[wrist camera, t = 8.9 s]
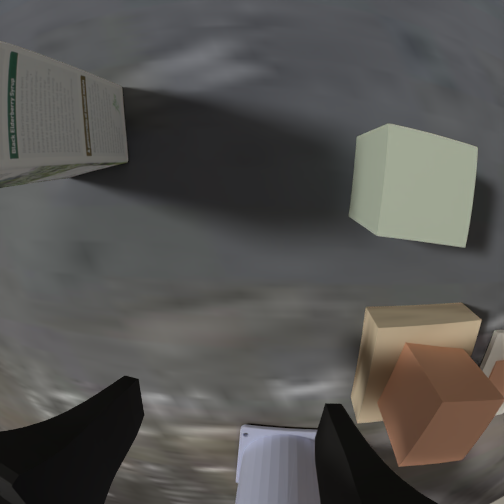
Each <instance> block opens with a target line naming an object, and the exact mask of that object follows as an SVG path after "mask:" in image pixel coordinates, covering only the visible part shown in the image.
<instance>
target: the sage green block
mask: <svg viewBox="0 0 504 504" xmlns="http://www.w3.org/2000/svg"><path fill="white" fill-rule="evenodd" d="M477 152H478V147H475V146H472V145H469V144H466V143H463V142H459V141H456V140H453V139H449V138H446V137H442V136H439V135H435V134H431V133H427V132H423V131H419V130H415V129H411V128H407V127H403V126H398V125H394V124H389V123H388V124H386V125H383V126H381V127H379V128H376V129H374V130H371V131H369V132H367V133H364V134H362V135H360V136H357V140H356V153H355V164H354V174H353V184H352V193H351V202H350V210H349V217H350V218H352V219H353V220H355V221H356V222H358V223H359V224H360V225H362V226H363V227H365V228H366V229H368V230H369V231H371V232H372V233H373V234H375V235H376V236H383V237H391V238H398V239H406V240H414V241H421V242H428V243H436V244H443V245H450V246H457V247H463V248H465V247H466V241H467V236H468V230H469V225H470V218H471V212H472V205H473V197H474V188H475V179H476V167H477Z"/></svg>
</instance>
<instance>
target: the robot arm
mask: <svg viewBox="0 0 504 504" xmlns="http://www.w3.org/2000/svg"><path fill="white" fill-rule="evenodd" d="M143 417H144V410H143V404H142V398H141V392H140V385H139V379H137V378H133V377H128V376H124V377H122V378H120V379H119V380H117V381H116V382H114V383H113V384H111V385H110V386H108V387H107V388H105V389H104V390H102V391H101V392H99V393H98V394H96V395H95V396H93V397H91V398H90V399H88V400H87V401H85V402H83V403H81V404H79V405H78V406H76V407H74V408H72V409H70V410H69V411H67V412H64V413H62V414H60V415H58V416H56V417H53V418H51V419H48V420H46V421H43V422H40V423H37V424H33V425H30V426H27V427H23V428H18V429H14V430H8V431H1V432H0V504H104V502H105V499H106V497H107V494H108V491H109V489H110V486H111V483H112V481H113V479H114V477H115V475H116V472H117V471H118V469H119V467H120V465H121V463H122V462H123V460H124V458H125V456H126V454H127V452H128V451H129V449H130V447H131V445H132V443H133V441H134V440H135V438H136V436H137V433H138V431H139V428H140V426H141V423H142V420H143ZM245 433H248V434H245ZM236 482H237V483H238V488H237V495H236V501H235V504H438V503H436V502H434V501H432V500H431V499H429V498H427V497H426V496H424V495H423V494H421V493H420V492H418V491H417V490H415V489H414V488H413V487H411V486H410V485H409V484H407V483H406V482H405V481H403V480H402V479H401V478H400V477H399V476H398V475H396V474H395V473H394V472H393V471H392V470H391V469H390V468H389V467H388V466H387V465H386V464H385V463H384V462H383V460H382V459H381V458H380V457H379V456H378V455H377V454H376V452H375V451H374V450H373V449H372V448H371V446H370V445H369V444H368V442H367V441H366V440H365V438H364V437H363V436H362V434H361V433H360V432H359V430H358V429H357V427H356V426H355V424H354V423H353V421H352V420H351V418H350V417H349V415H348V413H347V412H346V410H345V409H344V407H343V406H342V404H326V403H325V407H324V410H323V413H322V417H321V420H320V423H319V427H318V430H313V429H292V428H277V427H265V426H255V425H243V426H241V430H240V441H239V452H238V463H237V474H236Z"/></svg>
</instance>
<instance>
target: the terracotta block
mask: <svg viewBox="0 0 504 504" xmlns="http://www.w3.org/2000/svg"><path fill="white" fill-rule="evenodd" d="M503 402H504V397H503V396H502V394H501V393H500V392H499V391H498V389H497V388H496V387H495V386H494V384H493V383H492V382H491V381H490V380H489V378H488V377H487V376H486V375H485V374H484V372H483V371H482V370H481V369H480V368H479V367H478V365H477V364H476V363H475V362H474V361H473V360H472V358H471V357H470V356H469V355H468V354H467V353H466V352H465V350H464V349H460V348H450V347H440V346H431V345H422V344H414V343H406V342H405V345H404V347H403V349H402V352H401V354H400V356H399V359H398V361H397V363H396V365H395V367H394V370H393V372H392V374H391V376H390V378H389V380H388V382H387V384H386V386H385V388H384V390H383V392H382V394H381V396H380V398H379V400H378V402H377V404H378V407H379V410H380V412H381V415H382V418H383V421H384V424H385V427H386V430H387V433H388V436H389V439H390V442H391V445H392V448H393V451H394V454H395V457H396V460H397V463H398V466H399V467H401V466H415V465H426V464H435V463H444V462H451V461H458V460H462V459H463V458H464V457H465V456H466V455H467V453H468V452H469V451H470V449H471V448H472V447H473V446H474V444H475V443H476V442H477V440H478V439H479V438H480V436H481V435H482V433H483V432H484V431H485V429H486V428H487V426H488V425H489V424H490V422H491V421H492V419H493V418H494V416H495V415H496V413H497V412H498V410H499V408H500V407H501V405H502V404H503Z"/></svg>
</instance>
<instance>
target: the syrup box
mask: <svg viewBox="0 0 504 504" xmlns="http://www.w3.org/2000/svg"><path fill="white" fill-rule="evenodd" d="M127 162H128V149H127V137H126V127H125V116H124V104H123V91H122V87H121V86H120V85H118V84H115V83H113V82H110V81H108V80H105V79H103V78H101V77H98V76H96V75H93V74H91V73H88V72H86V71H83V70H81V69H78V68H76V67H73V66H71V65H68V64H65V63H63V62H60V61H58V60H55V59H52V58H49V57H46V56H44V55H41V54H38V53H36V52H33V51H30V50H27V49H24V48H21V47H18V46H15V45H12V44H9V43H6V42H2V41H0V188H3V187H9V186H15V185H22V184H28V183H34V182H42V181H49V180H56V179H65V178H70V177H74V176H77V175H81V174H84V173H88V172H91V171H95V170H99V169H103V168H107V167H111V166H115V165H119V164H124V163H127Z"/></svg>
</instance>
